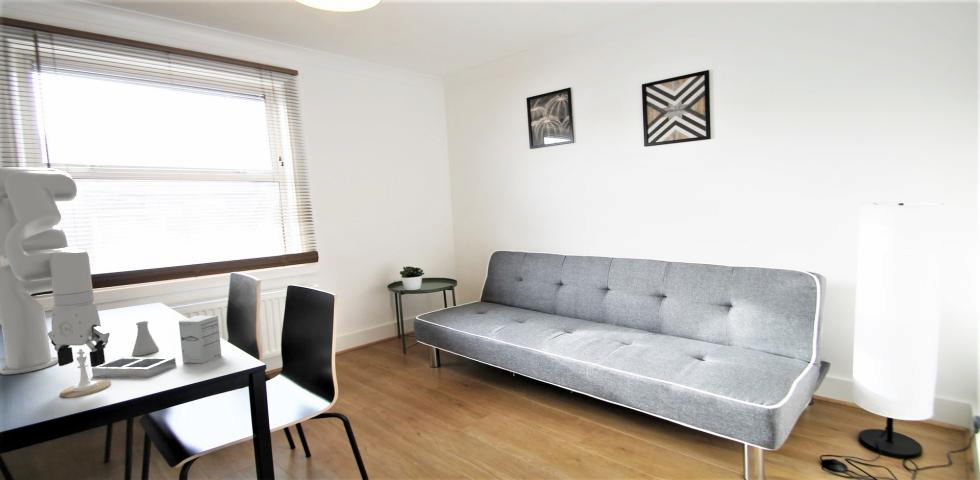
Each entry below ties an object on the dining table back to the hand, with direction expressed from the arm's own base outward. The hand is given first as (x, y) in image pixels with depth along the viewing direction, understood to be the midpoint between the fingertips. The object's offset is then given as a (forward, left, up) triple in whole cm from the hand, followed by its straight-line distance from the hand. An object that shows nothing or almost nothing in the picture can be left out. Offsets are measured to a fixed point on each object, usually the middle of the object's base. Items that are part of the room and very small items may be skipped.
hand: (82, 364), depth 121 cm
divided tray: (+2, +13, -7) cm, 14 cm away
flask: (-11, +29, -7) cm, 32 cm away
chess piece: (0, 0, -6) cm, 6 cm away
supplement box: (+15, +23, -7) cm, 28 cm away
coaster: (+1, 0, -7) cm, 7 cm away
